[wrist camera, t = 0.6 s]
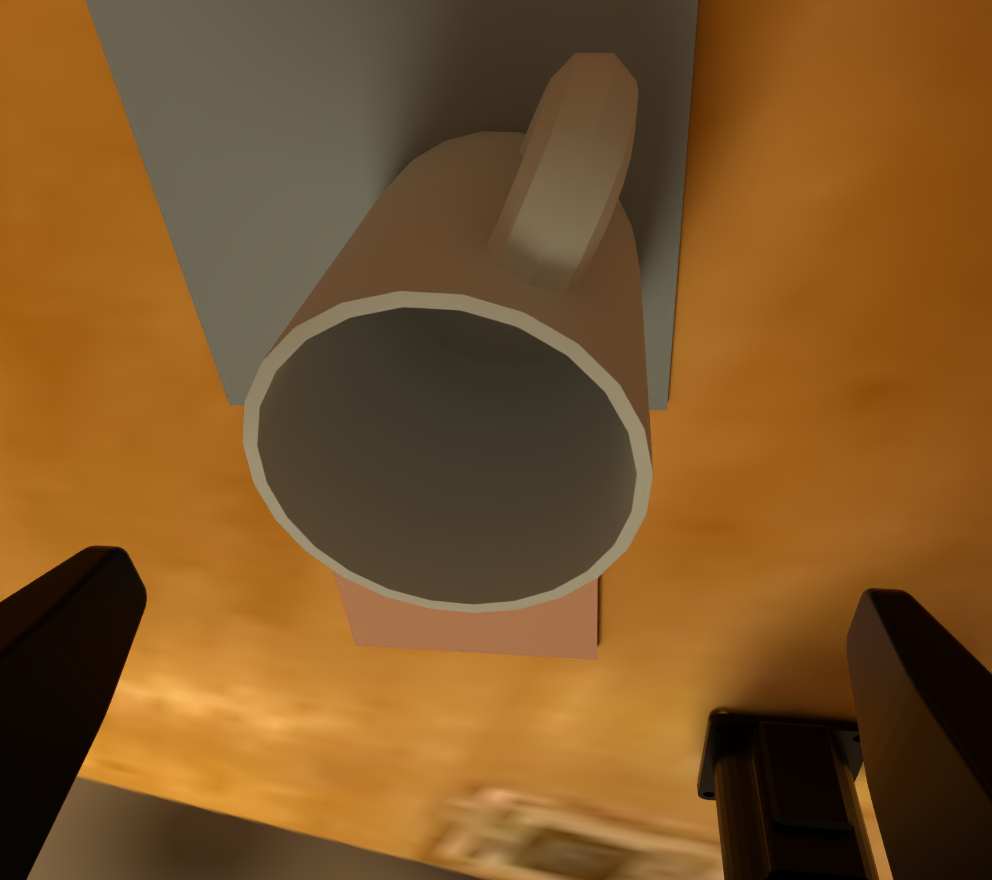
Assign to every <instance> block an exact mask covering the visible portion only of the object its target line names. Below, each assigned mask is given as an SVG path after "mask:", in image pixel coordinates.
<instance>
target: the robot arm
mask: <svg viewBox="0 0 992 880" xmlns="http://www.w3.org/2000/svg"><path fill="white" fill-rule="evenodd" d="M146 601H147V593H146V588H145V586H144V584H143V582H142V580H141V578H140V576H139V574H138V572H137V570H136V568H135V566H134V564H133V562H132V560H131V558H130V557H129V555H128V553H127V552H126V551H125V550H124V549H122V548H120V547H114V546H90V547H87V548H85V549H83V550H82V551H80V552H79V553H77V554H75V555H74V556H72V557H71V558H69V559H68V560H66V561H64V562H63V563H61V564H60V565H58V566H56V567H55V568H53V569H52V570H50V571H49V572H47V573H45V574H44V575H42V576H41V577H39V578H38V579H36V580H34V581H33V582H31V583H30V584H28V585H27V586H25V587H23V588H22V589H20V590H19V591H17V592H16V593H14V594H12V595H11V596H9V597H8V598H6V599H4V600H3V601H1V602H0V880H27V878H28V876H29V873H30V871H31V869H32V867H33V865H34V863H35V861H36V859H37V857H38V855H39V853H40V851H41V849H42V847H43V845H44V842H45V840H46V838H47V836H48V834H49V832H50V830H51V828H52V826H53V824H54V822H55V820H56V818H57V815H58V813H59V812H60V809H61V807H62V805H63V803H64V801H65V799H66V797H67V795H68V793H69V791H70V789H71V787H72V784H73V783H74V781H75V778H76V776H77V774H78V772H79V770H80V768H81V766H82V764H83V762H84V760H85V758H86V756H87V754H88V752H89V750H90V747H91V745H92V743H93V741H94V739H95V737H96V735H97V733H98V731H99V729H100V726H101V724H102V722H103V720H104V717H105V715H106V713H107V710H108V708H109V705H110V703H111V700H112V698H113V695H114V692H115V690H116V687H117V684H118V681H119V679H120V676H121V673H122V670H123V668H124V665H125V662H126V659H127V657H128V654H129V651H130V649H131V646H132V643H133V640H134V638H135V635H136V632H137V629H138V627H139V624H140V621H141V618H142V616H143V613H144V610H145V607H146ZM846 646H847V658H848V664H849V671H850V677H851V684H852V690H853V696H854V703H855V709H856V716H857V722H858V723H852V722H837V721H823V720H808V719H793V718H779V717H764V716H749V715H735V714H715V715H712V716H711V717H709V719H708V725H707V731H706V736H705V742H704V748H703V754H702V760H701V766H700V771H699V777H698V783H697V789H698V796H699V797H700V798H702V799H706V800H716V807H717V816H718V825H719V834H720V844H721V853H722V862H723V871H724V880H879V876H878V873H877V869H876V865H875V861H874V857H873V853H872V850H871V846H870V842H869V838H868V834H867V830H866V827H865V823H864V819H863V815H862V811H861V807H860V804H859V800H858V796H857V792H856V788H855V784H854V782H855V780H856V777H857V775H858V773H859V770H860V768H861V765H862V763H863V761H864V767H865V772H866V778H867V784H868V788H869V792H870V796H871V800H872V804H873V808H874V811H875V815H876V819H877V822H878V826H879V829H880V833H881V837H882V840H883V844H884V848H885V851H886V855H887V858H888V862H889V866H890V869H891V873H892V877H893V880H992V673H991V672H990V671H988V670H987V669H986V668H985V667H984V666H983V665H982V664H981V663H980V662H979V661H978V660H977V659H976V658H975V657H974V656H973V655H972V654H971V653H970V652H969V651H968V650H967V649H966V648H965V647H964V646H963V645H962V644H961V643H960V642H959V641H958V640H957V639H956V638H955V637H954V636H953V635H952V634H951V633H950V632H948V631H947V630H946V629H945V628H944V627H943V626H942V625H941V624H940V623H939V622H938V621H937V620H936V619H935V618H934V617H933V616H932V615H931V614H930V613H929V612H928V611H927V610H926V609H925V608H924V607H923V606H922V605H921V604H920V603H919V602H918V601H917V600H916V599H915V598H914V597H913V596H911V595H910V594H909V593H907V592H905V591H903V590H897V589H879V588H870V589H867V590H866V591H865V592H864V593H863V594H862V596H861V598H860V601H859V604H858V607H857V609H856V612H855V615H854V618H853V620H852V623H851V626H850V629H849V632H848V635H847V645H846Z"/></svg>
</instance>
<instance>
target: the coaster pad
mask: <svg viewBox="0 0 992 880" xmlns="http://www.w3.org/2000/svg"><path fill="white" fill-rule="evenodd" d="M333 572H334V575H335V578H336V582H337V585H338V588H339V592H340V595H341V598H342V601H343V605H344V608H345V611H346V615H347V618H348V621H349V624H350V628H351V631H352V634H353V638H354V641H355V644H356V645H357V646H374V647H391V648H408V649H425V650H442V651H459V652H475V653H492V654H509V655H526V656H543V657H560V658H577V659H594V660H597V622H598V578H596V579H595V580H593V581H591V582H589V583H587V584H585V585H584V586H582V587H580V588H578V589H576V590H574V591H573V592H571V593H569V594H567V595H565V596H563V597H561V598H558V599H555V600H551V601H548V602H544V603H540V604H537V605H533V606H530V607H526V608H522V609H518V610H506V611H493V612H481V613H470V612H460V611H449V610H439V609H429V608H426V607H422V606H418V605H414V604H411V603H407V602H403V601H400V600H396V599H392V598H388V597H385V596H383V595H381V594H378V593H376V592H374V591H372V590H370V589H368V588H365V587H363V586H361V585H359V584H357V583H355V582H352V581H350V580H348V579H346V578H344V577H342V576H341V575H339V574H338V573H336V572H335V571H334V570H333Z"/></svg>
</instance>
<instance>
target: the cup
mask: <svg viewBox="0 0 992 880" xmlns="http://www.w3.org/2000/svg"><path fill="white" fill-rule="evenodd" d="M637 105H638V86H637V81H636V80H635V78H634V77H633V76H632V75H631V74H630V72H629V71H628V70H627V69H626V67H625V66H624V65H623V64H622V62H621V61H620V60H619V59H618V57H617V56H616V55H615V54H614V53H575V54H574V55H573V56H572V57H571V58H570V59H569V60H568V61H567V62H566V63H565V64H564V65H563V66H562V67H561V68H560V69H559V70H558V71H557V73H556V74H555V75H554V76H553V77H552V78H551V79H550V81H549V83H548V85H547V87H546V89H545V91H544V93H543V95H542V98H541V100H540V102H539V104H538V107H537V109H536V111H535V114H534V116H533V118H532V121H531V123H530V125H529V128H528V130H527V133H526V134H524V133H521V132H491V131H481V132H477V133H473V134H469V135H465V136H461V137H457V138H454V139H450V140H446V141H444V142H442V143H440V144H439V145H437V146H435V147H433V148H432V149H430V150H428V151H427V152H425V153H423V154H422V155H420V156H418V157H417V158H415V159H413V160H412V161H411V162H410V163H409V164H408V165H407V166H406V167H405V168H404V170H403V171H402V172H401V173H400V174H399V175H398V176H397V177H396V178H395V179H394V181H393V182H392V183H391V184H390V185H389V186H388V187H387V188H386V189H385V190H384V192H383V193H382V194H381V195H380V197H379V198H378V199H377V201H376V202H375V204H374V205H373V206H372V208H371V209H370V211H369V212H368V213H367V215H366V216H365V218H364V219H363V220H362V222H361V223H360V225H359V226H358V227H357V229H356V230H355V232H354V233H353V234H352V236H351V237H350V239H349V240H348V241H347V243H346V244H345V246H344V247H343V249H342V250H341V251H340V253H339V254H338V256H337V257H336V258H335V260H334V261H333V263H332V264H331V265H330V267H329V268H328V270H327V271H326V272H325V274H324V275H323V277H322V278H321V279H320V281H319V282H318V284H317V285H316V286H315V288H314V289H313V291H312V292H311V293H310V295H309V296H308V298H307V299H306V300H305V302H304V303H303V305H302V306H301V308H300V309H299V310H298V312H297V313H296V315H295V316H294V317H293V319H292V320H291V322H290V323H289V324H288V326H287V327H286V329H285V330H284V331H283V333H282V334H281V336H280V337H279V338H278V340H277V341H276V343H275V344H274V345H273V347H272V348H271V350H270V351H269V352H268V354H267V355H266V357H265V358H264V359H263V361H262V363H261V365H260V367H259V370H258V372H257V374H256V376H255V379H254V381H253V383H252V386H251V388H250V390H249V393H248V395H247V397H246V400H245V406H244V426H243V446H244V449H245V453H246V457H247V460H248V464H249V468H250V471H251V475H252V479H253V482H254V484H255V486H256V488H257V489H258V491H259V493H260V494H261V496H262V498H263V499H264V501H265V503H266V504H267V506H268V508H269V509H270V511H271V513H272V514H273V516H274V518H275V519H276V521H277V522H278V523H279V524H280V525H281V526H282V527H283V528H284V529H285V530H286V531H287V532H288V533H289V534H290V535H291V536H292V537H293V538H294V539H295V540H296V541H297V542H298V543H299V544H300V546H301V547H302V548H303V549H304V550H305V551H306V552H308V553H309V554H310V555H312V556H313V557H315V558H316V559H318V560H319V561H321V562H322V563H323V564H325V565H326V566H328V567H329V568H331V569H332V570H334V571H335V572H336V573H338V574H339V575H341V576H342V577H344V578H346V579H348V580H350V581H352V582H355V583H357V584H359V585H361V586H363V587H365V588H368V589H370V590H372V591H374V592H376V593H378V594H381V595H383V596H385V597H388V598H392V599H396V600H400V601H403V602H407V603H411V604H414V605H418V606H422V607H426V608H429V609H439V610H449V611H460V612H470V613H481V612H493V611H506V610H518V609H522V608H526V607H530V606H533V605H537V604H540V603H544V602H548V601H551V600H555V599H558V598H561V597H563V596H565V595H567V594H569V593H571V592H573V591H574V590H576V589H578V588H580V587H582V586H584V585H585V584H587V583H589V582H591V581H593V580H595V579H596V578H598V577H599V576H600V575H601V574H602V573H603V572H604V571H605V570H606V569H608V568H609V567H610V566H611V565H612V564H613V563H614V562H615V561H616V560H617V559H618V558H619V557H620V556H621V555H622V554H623V553H624V552H625V551H627V549H628V547H629V546H630V544H631V542H632V540H633V538H634V536H635V535H636V533H637V531H638V529H639V527H640V525H641V524H642V522H643V520H644V518H645V516H646V514H647V508H648V501H649V495H650V489H651V483H652V477H653V464H652V449H651V433H650V417H649V401H648V385H647V369H646V353H645V337H644V321H643V305H642V289H641V273H640V267H639V261H638V255H637V249H636V243H635V238H634V233H633V229H632V225H631V223H630V221H629V219H628V217H627V215H626V213H625V211H624V209H623V207H622V204H621V202H620V200H619V195H620V193H621V190H622V187H623V184H624V180H625V177H626V173H627V170H628V166H629V162H630V159H631V154H632V148H633V142H634V135H635V126H636V115H637Z"/></svg>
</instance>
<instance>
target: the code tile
mask: <svg viewBox="0 0 992 880" xmlns="http://www.w3.org/2000/svg"><path fill="white" fill-rule="evenodd" d="M86 2H87V5H88V8H89V11H90V14H91V16H92V19H93V22H94V25H95V28H96V30H97V33H98V36H99V39H100V42H101V44H102V47H103V50H104V53H105V56H106V58H107V61H108V64H109V67H110V70H111V73H112V75H113V78H114V81H115V84H116V87H117V89H118V92H119V95H120V98H121V101H122V103H123V106H124V109H125V112H126V115H127V117H128V120H129V123H130V126H131V129H132V131H133V134H134V137H135V140H136V143H137V145H138V148H139V151H140V154H141V157H142V159H143V162H144V165H145V168H146V171H147V174H148V176H149V179H150V182H151V185H152V188H153V190H154V193H155V196H156V199H157V202H158V204H159V207H160V210H161V213H162V216H163V218H164V221H165V224H166V227H167V230H168V232H169V235H170V238H171V241H172V244H173V246H174V249H175V252H176V255H177V258H178V261H179V263H180V266H181V269H182V272H183V275H184V277H185V280H186V283H187V286H188V289H189V291H190V294H191V297H192V300H193V303H194V305H195V308H196V311H197V314H198V317H199V319H200V322H201V325H202V328H203V331H204V333H205V336H206V339H207V342H208V345H209V348H210V350H211V353H212V356H213V359H214V362H215V364H216V367H217V370H218V373H219V376H220V378H221V381H222V384H223V387H224V390H225V392H226V395H227V398H228V401H229V404H230V405H245V400H246V397H247V395H248V393H249V390H250V388H251V386H252V383H253V381H254V379H255V376H256V374H257V372H258V370H259V367H260V365H261V363H262V361H263V359H264V358H265V357H266V355H267V354H268V352H269V351H270V350H271V348H272V347H273V345H274V344H275V343H276V341H277V340H278V338H279V337H280V336H281V334H282V333H283V331H284V330H285V329H286V327H287V326H288V324H289V323H290V322H291V320H292V319H293V317H294V316H295V315H296V313H297V312H298V310H299V309H300V308H301V306H302V305H303V303H304V302H305V300H306V299H307V298H308V296H309V295H310V293H311V292H312V291H313V289H314V288H315V286H316V285H317V284H318V282H319V281H320V279H321V278H322V277H323V275H324V274H325V272H326V271H327V270H328V268H329V267H330V265H331V264H332V263H333V261H334V260H335V258H336V257H337V256H338V254H339V253H340V251H341V250H342V249H343V247H344V246H345V244H346V243H347V241H348V240H349V239H350V237H351V236H352V234H353V233H354V232H355V230H356V229H357V227H358V226H359V225H360V223H361V222H362V220H363V219H364V218H365V216H366V215H367V213H368V212H369V211H370V209H371V208H372V206H373V205H374V204H375V202H376V201H377V199H378V198H379V197H380V195H381V194H382V193H383V192H384V190H385V189H386V188H387V187H388V186H389V185H390V184H391V183H392V182H393V181H394V179H395V178H396V177H397V176H398V175H399V174H400V173H401V172H402V171H403V170H404V168H405V167H406V166H407V165H408V164H409V163H410V162H411V161H412V160H413V159H415V158H417V157H418V156H420V155H422V154H423V153H425V152H427V151H428V150H430V149H432V148H433V147H435V146H437V145H439V144H440V143H442V142H444V141H446V140H450V139H454V138H457V137H461V136H465V135H469V134H473V133H477V132H481V131H491V132H521V133H524V134H526V133H527V130H528V128H529V125H530V123H531V121H532V118H533V116H534V114H535V111H536V109H537V107H538V104H539V102H540V100H541V98H542V95H543V93H544V91H545V89H546V87H547V85H548V83H549V81H550V79H551V78H552V77H553V76H554V75H555V74H556V73H557V71H558V70H559V69H560V68H561V67H562V66H563V65H564V64H565V63H566V62H567V61H568V60H569V59H570V58H571V57H572V56H573V55H574V54H575V53H614V54H615V55H616V56H617V57H618V59H619V60H620V61H621V62H622V64H623V65H624V66H625V67H626V69H627V70H628V71H629V72H630V74H631V75H632V76H633V77H634V78H635V80H636V81H637V86H638V105H637V115H636V126H635V135H634V142H633V148H632V154H631V159H630V162H629V166H628V170H627V173H626V177H625V180H624V184H623V187H622V190H621V193H620V195H619V200H620V202H621V204H622V207H623V209H624V211H625V213H626V215H627V217H628V219H629V221H630V223H631V225H632V229H633V233H634V238H635V243H636V249H637V255H638V261H639V267H640V273H641V289H642V305H643V321H644V337H645V353H646V369H647V385H648V401H649V409H657V410H667V402H668V389H669V376H670V363H671V350H672V337H673V324H674V312H675V299H676V286H677V273H678V260H679V247H680V234H681V221H682V208H683V195H684V182H685V169H686V157H687V144H688V131H689V118H690V105H691V92H692V79H693V66H694V53H695V40H696V27H697V14H698V2H699V0H86Z"/></svg>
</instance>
